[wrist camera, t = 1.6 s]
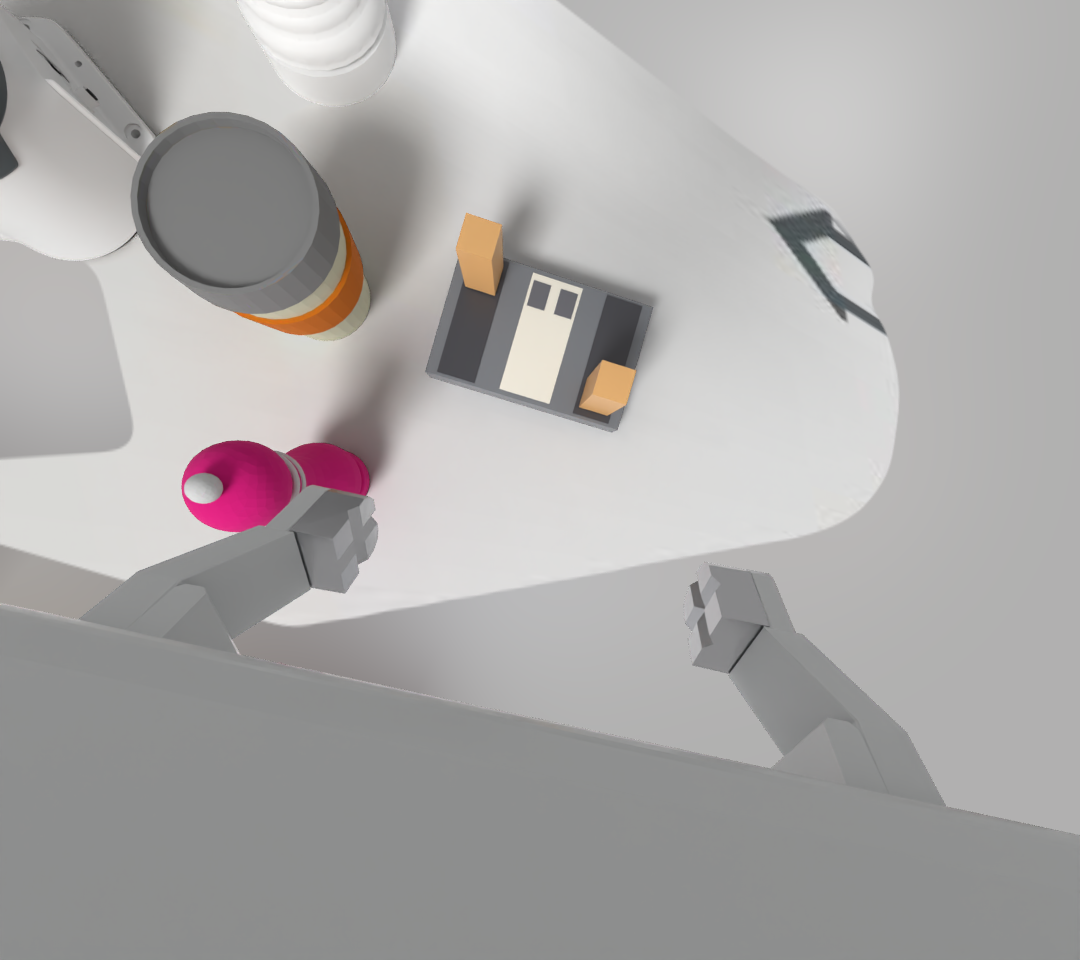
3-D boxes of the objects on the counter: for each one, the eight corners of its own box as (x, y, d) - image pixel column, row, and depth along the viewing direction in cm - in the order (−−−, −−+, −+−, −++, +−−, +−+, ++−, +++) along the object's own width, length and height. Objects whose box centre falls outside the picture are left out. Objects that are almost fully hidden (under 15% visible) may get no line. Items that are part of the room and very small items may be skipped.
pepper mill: (300, 447, 43) (117, 427, 23) (372, 443, 43) (255, 420, 24) (305, 517, 43) (129, 558, 23) (377, 513, 44) (264, 548, 24)
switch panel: (611, 432, 45) (617, 429, 42) (430, 377, 44) (424, 371, 41) (645, 316, 45) (653, 306, 42) (465, 257, 44) (462, 243, 41)
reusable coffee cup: (390, 239, 43) (326, 117, 28) (386, 362, 43) (320, 305, 28) (263, 229, 42) (127, 97, 27) (259, 355, 43) (123, 292, 28)
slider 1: (494, 296, 41) (491, 260, 34) (465, 286, 41) (455, 248, 34) (503, 266, 41) (501, 224, 34) (473, 256, 41) (466, 212, 34)
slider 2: (607, 415, 42) (626, 404, 35) (578, 407, 42) (592, 394, 35) (615, 387, 42) (636, 370, 35) (587, 378, 42) (602, 359, 35)
